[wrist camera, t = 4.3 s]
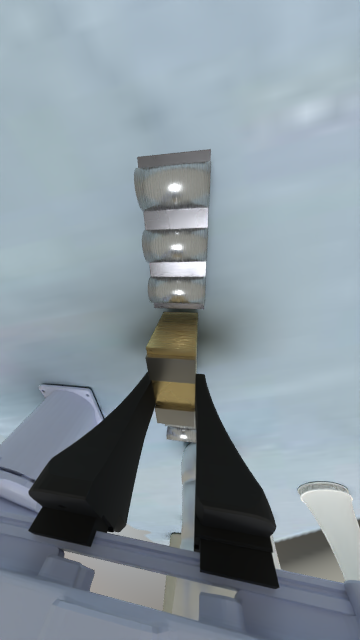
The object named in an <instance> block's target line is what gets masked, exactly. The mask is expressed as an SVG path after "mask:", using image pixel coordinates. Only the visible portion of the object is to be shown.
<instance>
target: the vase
mask: <svg viewBox="0 0 360 640" xmlns="http://www.w3.org/2000/svg"><path fill="white" fill-rule="evenodd" d="M298 493H299V494H300V498H301V500H302V501H303V502H304V503H305V504H306V505H307V507H308V508H309V510H310V511H311V513H312V514H313V516H314V517H315V519H316V521H317V522H318V524H319V526H320V528H321V529H322V531H323V533H324V534H325V536H326V538H327V541H328V542H329V544H330V546H331V549H332V551H333V552H334V555H335V557H336V559H337V562H338V564H339V566H340V569H341V571H342V574H343V576H344V579H345V581H347V580H357V581H360V527H359V525H358V522H357V519H356V516H355V513H354V509H353V506H352V501H353V498H352V496H351V495H350V494H349V491H348V490H347V488H345V487H344V486H342V485H339V484H336V483H330V482H313V483H308V484H304V485H302V486H300V487H299V488H298Z"/></svg>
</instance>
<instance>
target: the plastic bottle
mask: <svg viewBox="0 0 360 640" xmlns="http://www.w3.org/2000/svg"><path fill="white" fill-rule="evenodd" d="M181 475H182V484H183V492H182V531H181V538H182V539H181V545H180V549H185V550H190V551H194V518H195V479H196V443H190V444H189V445H188V446H187V447H186V449H185V450H184V453H183V457H182V462H181ZM201 592H205V593H211V594H217V595H223V596H228V597H231V598H234V597H235V594H236V593H237V591H232V590H228V589H224V588H220V587H215V586H211V585H207V584H203V583H199V582H194V581H190V580H186V579H182V578H177V580H176V587H175V594H174V601H173V608H172V614H175V615H178V616H182V617H186V618H189V619H193V620H197V621H198V620H199V594H200V593H201Z"/></svg>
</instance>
